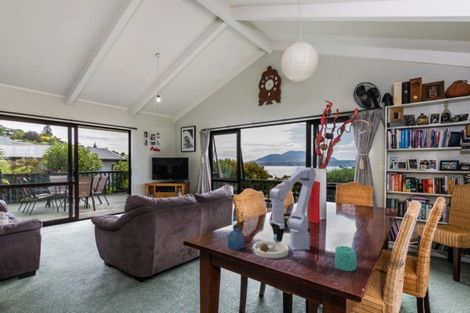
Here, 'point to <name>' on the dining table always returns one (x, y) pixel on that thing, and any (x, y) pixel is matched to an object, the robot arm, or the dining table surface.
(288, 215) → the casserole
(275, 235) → the teal bead
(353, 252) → the decorative dice
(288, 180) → the robot arm
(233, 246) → the perfume bottle
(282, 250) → the tray
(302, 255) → the dining table surface
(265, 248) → the walnut bead
